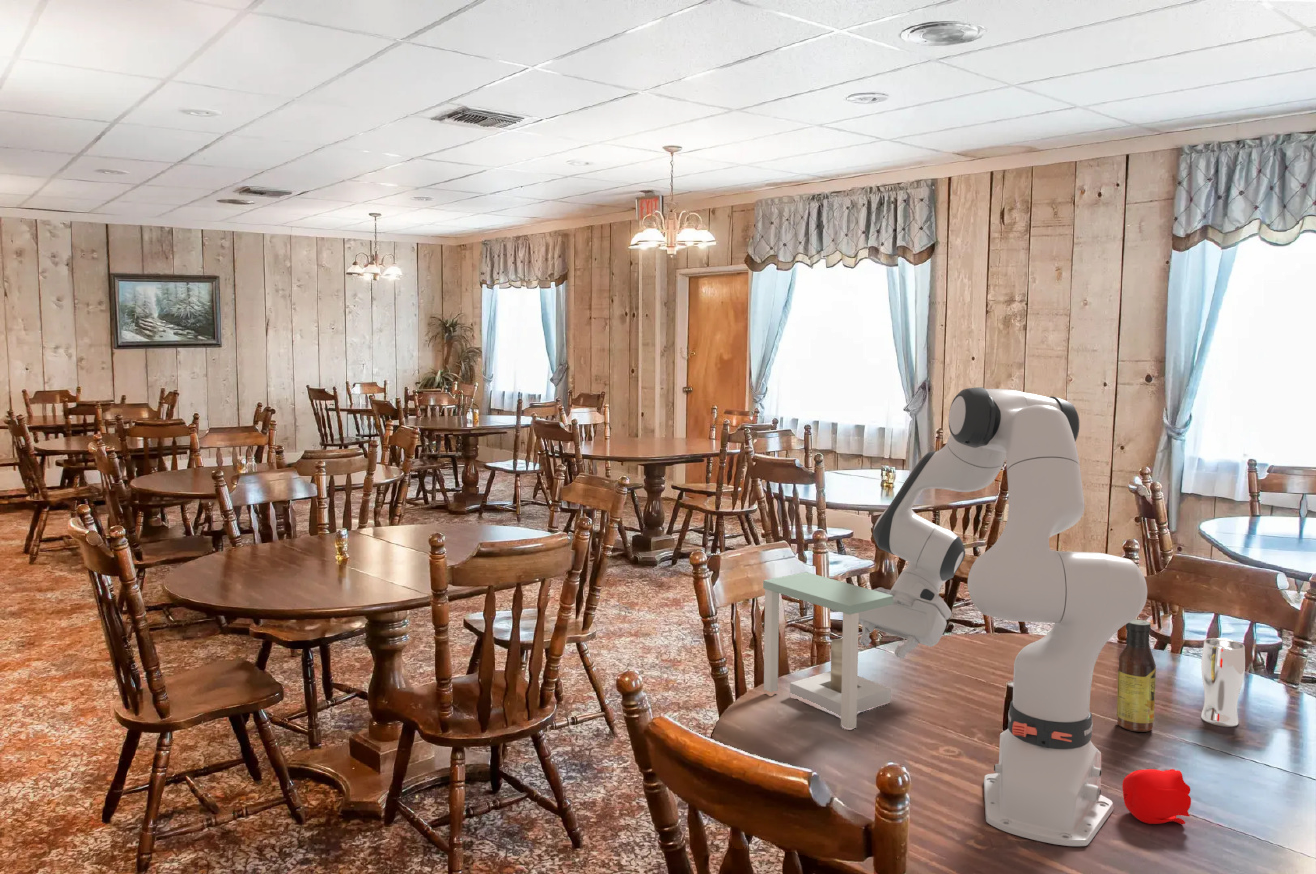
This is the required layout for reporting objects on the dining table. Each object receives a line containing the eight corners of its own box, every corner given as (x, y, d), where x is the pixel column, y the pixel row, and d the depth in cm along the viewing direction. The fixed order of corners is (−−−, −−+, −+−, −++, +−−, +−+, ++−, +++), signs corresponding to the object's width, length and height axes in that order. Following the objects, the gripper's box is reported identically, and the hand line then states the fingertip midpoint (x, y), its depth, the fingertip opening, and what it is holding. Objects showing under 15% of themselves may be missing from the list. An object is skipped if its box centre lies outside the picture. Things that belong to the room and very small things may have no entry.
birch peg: (851, 704, 184) (852, 645, 183) (830, 703, 185) (831, 644, 184) (850, 697, 188) (851, 639, 187) (830, 696, 189) (831, 638, 188)
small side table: (804, 682, 197) (806, 572, 194) (890, 716, 178) (893, 595, 176) (761, 694, 190) (763, 580, 187) (846, 732, 171) (849, 606, 169)
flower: (1110, 769, 144) (1163, 768, 144) (1119, 823, 142) (1173, 822, 142) (1132, 769, 137) (1187, 769, 137) (1142, 826, 135) (1198, 826, 134)
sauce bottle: (1158, 735, 170) (1163, 628, 168) (1121, 732, 171) (1126, 626, 169) (1147, 721, 176) (1152, 618, 174) (1111, 718, 177) (1116, 616, 176)
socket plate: (838, 682, 196) (838, 668, 196) (890, 703, 185) (891, 688, 185) (790, 697, 188) (790, 682, 188) (841, 719, 177) (842, 704, 176)
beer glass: (1229, 714, 180) (1234, 638, 178) (1248, 728, 173) (1253, 650, 171) (1191, 712, 180) (1196, 637, 179) (1209, 727, 173) (1213, 648, 172)
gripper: (867, 577, 204) (835, 629, 200) (945, 597, 188) (912, 654, 183) (880, 594, 207) (849, 645, 203) (958, 615, 191) (926, 671, 186)
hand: (880, 650), depth 193 cm, fingers open, 8 cm apart
